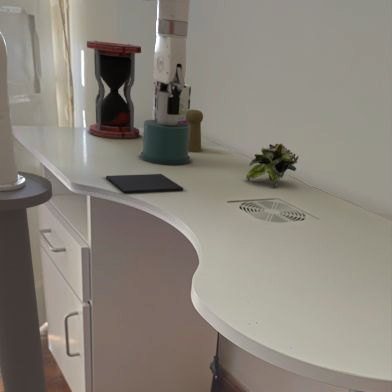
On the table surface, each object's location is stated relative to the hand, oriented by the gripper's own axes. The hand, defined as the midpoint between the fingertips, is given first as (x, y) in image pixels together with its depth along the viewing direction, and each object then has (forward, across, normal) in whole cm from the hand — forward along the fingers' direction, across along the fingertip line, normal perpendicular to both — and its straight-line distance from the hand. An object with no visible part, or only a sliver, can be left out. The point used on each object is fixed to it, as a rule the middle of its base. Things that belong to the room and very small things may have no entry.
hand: (167, 111), depth 124 cm
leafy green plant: (+12, +27, +17) cm, 34 cm away
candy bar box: (+12, -23, +12) cm, 29 cm away
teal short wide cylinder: (+12, 0, 0) cm, 12 cm away
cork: (+12, -11, +14) cm, 22 cm away
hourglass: (+12, -34, -2) cm, 37 cm away
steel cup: (+3, 0, 0) cm, 3 cm away
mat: (+12, +23, -16) cm, 30 cm away
